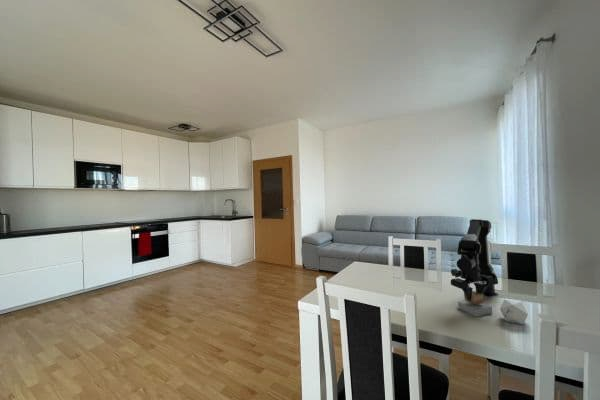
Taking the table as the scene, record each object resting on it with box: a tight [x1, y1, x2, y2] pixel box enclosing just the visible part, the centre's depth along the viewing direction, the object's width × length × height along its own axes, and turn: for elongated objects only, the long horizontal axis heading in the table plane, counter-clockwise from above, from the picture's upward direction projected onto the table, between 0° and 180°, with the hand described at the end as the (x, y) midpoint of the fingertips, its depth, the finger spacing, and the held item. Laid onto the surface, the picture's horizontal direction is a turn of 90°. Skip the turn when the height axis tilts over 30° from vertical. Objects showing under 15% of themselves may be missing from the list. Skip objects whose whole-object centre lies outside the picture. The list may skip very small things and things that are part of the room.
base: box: [457, 299, 493, 317], centre depth 107 cm, size 9×9×3 cm
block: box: [463, 290, 485, 305], centre depth 107 cm, size 5×5×4 cm
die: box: [499, 299, 529, 325], centre depth 96 cm, size 8×9×10 cm
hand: (473, 299), depth 107 cm, fingers closed on block, 5 cm apart
